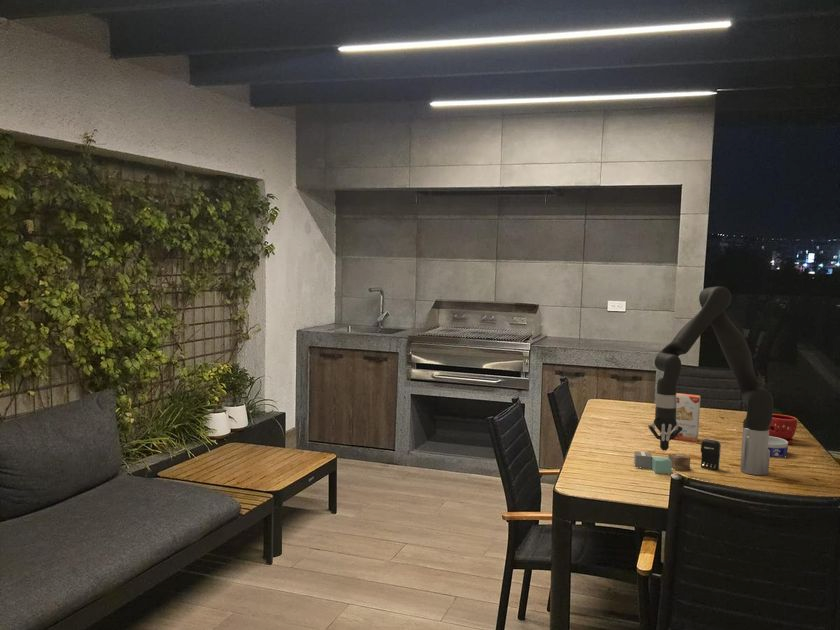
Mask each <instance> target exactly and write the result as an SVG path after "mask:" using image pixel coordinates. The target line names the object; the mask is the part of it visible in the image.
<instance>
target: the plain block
mask: <svg viewBox="0 0 840 630" xmlns="http://www.w3.org/2000/svg"><path fill="white" fill-rule="evenodd" d="M671 467H672V461H671V460H670V459H669V456H668V457H667V456H652V464H651V469H650V470H652V472H653V471H654V472H655V473H654V472H653V473H654V474H657V473H668V474H667V475H672V468H671ZM669 473H670V474H669Z"/></svg>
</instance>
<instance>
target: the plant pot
mask: <svg viewBox="0 0 840 630" xmlns="http://www.w3.org/2000/svg"><path fill="white" fill-rule="evenodd" d="M797 426H798V418H796V417H794V416H790V415H785V414H775V413H773V414H772V421H771V424H770V427H769V436H772V437H777V438H781V439H784V440H786V441H788V445H790V444H792V443H794V441H795V439H794V438H793V437H794V436H795V434H796V431H797Z"/></svg>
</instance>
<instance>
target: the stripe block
mask: <svg viewBox="0 0 840 630" xmlns="http://www.w3.org/2000/svg"><path fill="white" fill-rule="evenodd" d="M652 457H653V456H652V454H651V452H645V451H634V457H633V458H634V459H633V465H634V464H635V465H634V468H635V467H641V468H640V469H643V468H651V464H652Z"/></svg>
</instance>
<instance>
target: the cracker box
mask: <svg viewBox="0 0 840 630" xmlns="http://www.w3.org/2000/svg"><path fill="white" fill-rule="evenodd" d="M701 397H702V396H701V395H698V394H689V393H688V394H687V393H680V392H679V393H678V392H676V399H677V406H676V422H677V425H679V426H680V427H682V430H681V432H680V433H679V434H678V435H677V436H676V437H675V438H674V439H673V440H677V441H683V442H690V443H697V442H698V440H699V428H700V427H699V426H700V414H701V413H700V412H701ZM674 430H675V427H674V429H673V430H672V431H671V433H672V432H673V431H674ZM671 433H670V435H671Z"/></svg>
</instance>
